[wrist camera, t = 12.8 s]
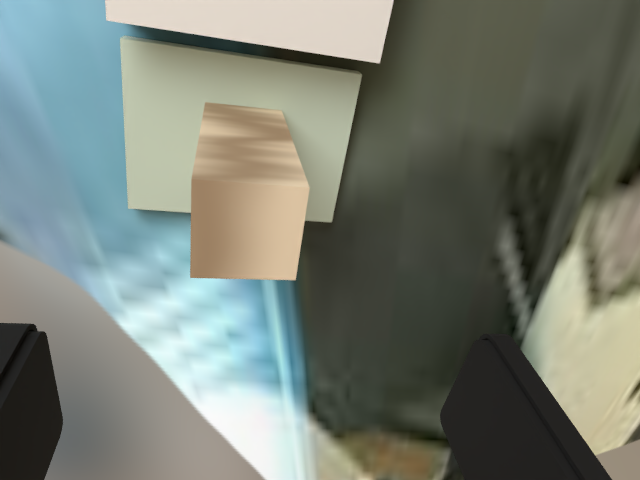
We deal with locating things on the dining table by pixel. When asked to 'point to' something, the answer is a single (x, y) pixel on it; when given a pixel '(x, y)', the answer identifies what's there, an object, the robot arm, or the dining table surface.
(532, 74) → the dining table surface
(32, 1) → the dining table surface
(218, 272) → the plug
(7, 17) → the dining table surface
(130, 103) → the mat
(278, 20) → the socket block
